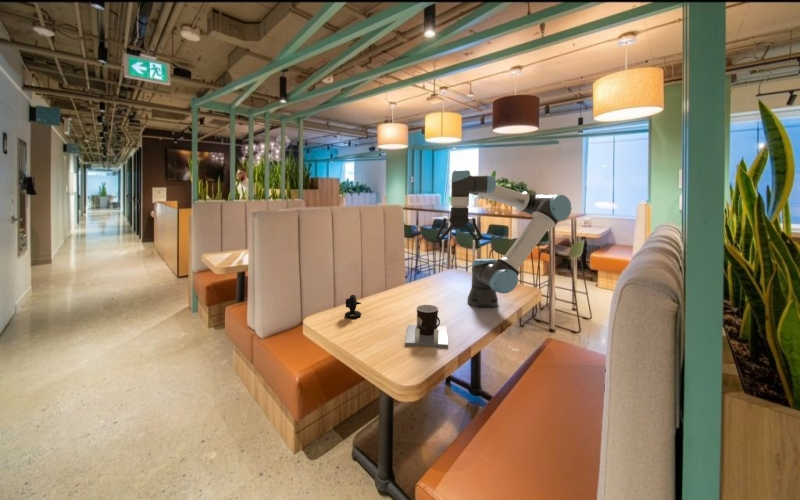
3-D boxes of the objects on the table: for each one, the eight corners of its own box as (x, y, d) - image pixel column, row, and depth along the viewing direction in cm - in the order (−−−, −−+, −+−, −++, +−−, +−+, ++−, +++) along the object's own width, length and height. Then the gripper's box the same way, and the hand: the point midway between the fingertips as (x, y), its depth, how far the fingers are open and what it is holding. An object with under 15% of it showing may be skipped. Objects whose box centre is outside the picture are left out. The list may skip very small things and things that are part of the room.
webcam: (346, 312, 160) (345, 292, 158) (362, 313, 160) (361, 292, 158) (343, 319, 152) (342, 297, 150) (359, 319, 152) (359, 297, 150)
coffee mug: (414, 328, 140) (415, 305, 138) (435, 327, 140) (436, 304, 139) (418, 340, 128) (419, 315, 126) (441, 339, 129) (442, 314, 127)
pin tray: (446, 328, 142) (446, 314, 141) (448, 347, 125) (448, 331, 124) (408, 327, 143) (408, 313, 142) (405, 345, 127) (405, 329, 126)
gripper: (487, 206, 149) (485, 253, 153) (430, 206, 152) (429, 252, 155) (490, 207, 142) (487, 257, 146) (430, 207, 144) (429, 256, 148)
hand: (457, 255), depth 151 cm, fingers open, 13 cm apart
